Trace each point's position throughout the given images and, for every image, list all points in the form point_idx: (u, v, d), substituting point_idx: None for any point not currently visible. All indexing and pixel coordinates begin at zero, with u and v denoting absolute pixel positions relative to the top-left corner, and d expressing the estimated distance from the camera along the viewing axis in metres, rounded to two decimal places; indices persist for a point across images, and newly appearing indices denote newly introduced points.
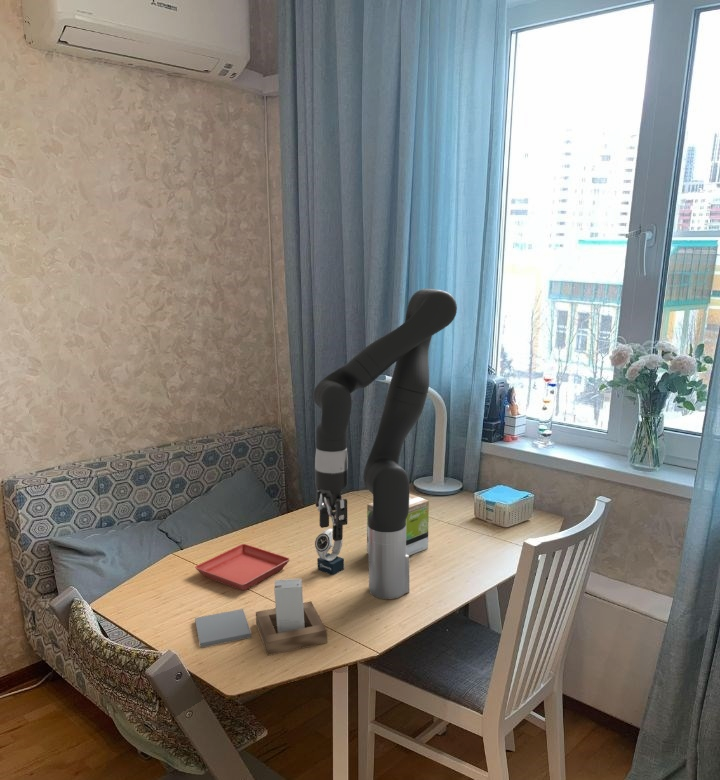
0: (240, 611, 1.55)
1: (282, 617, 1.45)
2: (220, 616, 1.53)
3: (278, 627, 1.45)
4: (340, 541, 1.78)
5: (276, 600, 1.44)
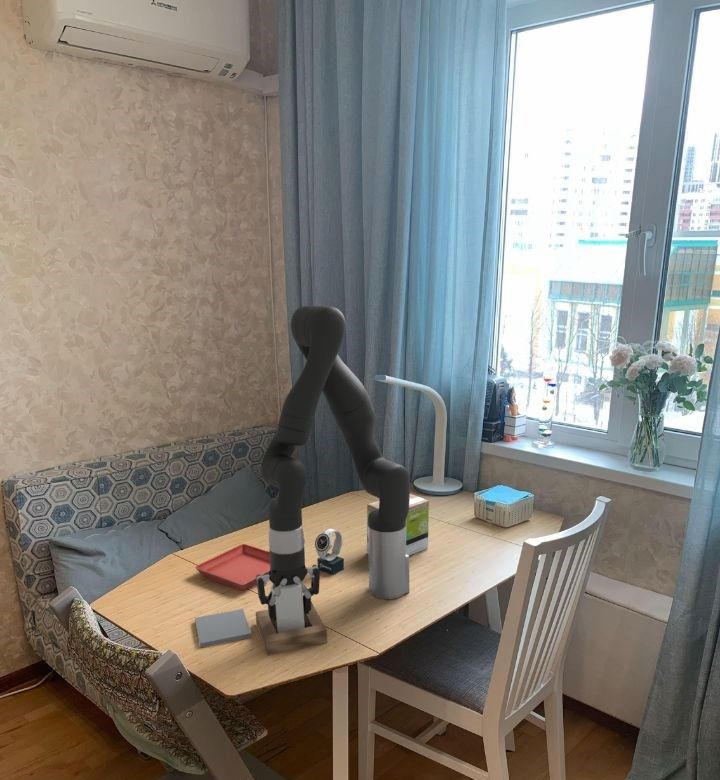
0: (240, 611, 1.55)
1: (282, 617, 1.45)
2: (220, 616, 1.53)
3: (278, 627, 1.45)
4: (340, 541, 1.78)
5: (276, 600, 1.44)
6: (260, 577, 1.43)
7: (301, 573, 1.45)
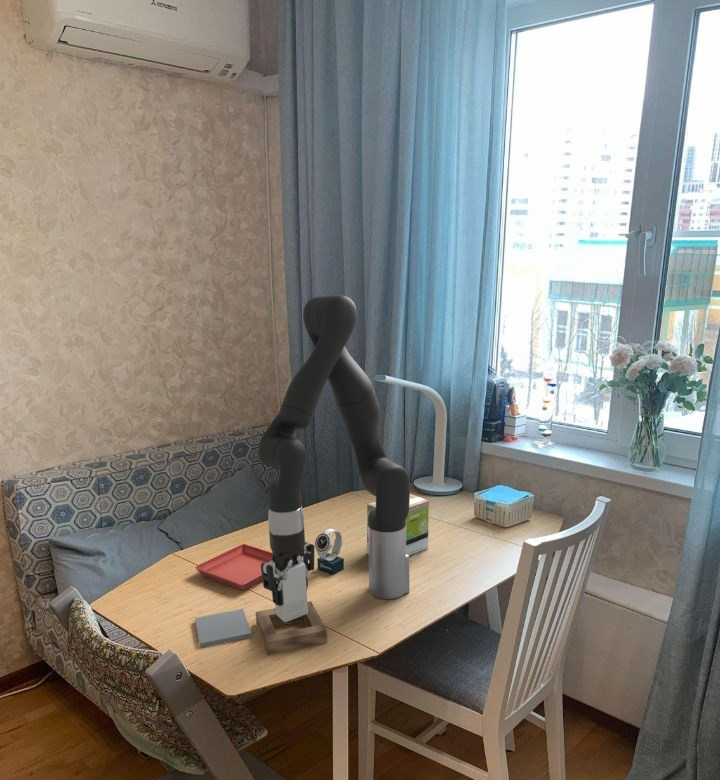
0: (240, 611, 1.55)
1: (289, 600, 1.44)
2: (220, 616, 1.53)
3: (285, 611, 1.44)
4: (340, 541, 1.78)
5: (283, 584, 1.42)
6: (268, 564, 1.39)
7: (300, 552, 1.45)
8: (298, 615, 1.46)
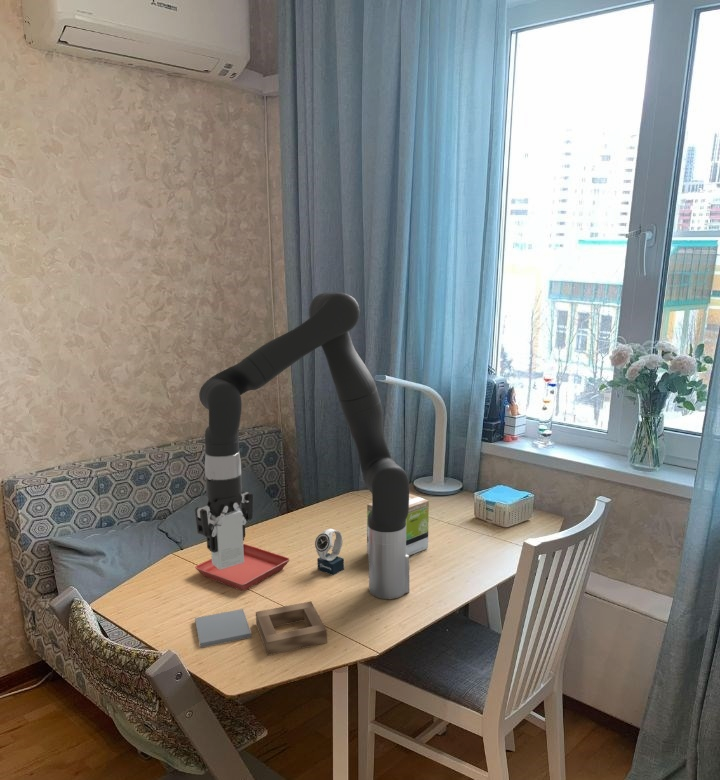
0: (240, 611, 1.55)
1: (224, 547, 1.43)
2: (220, 616, 1.53)
3: (220, 558, 1.43)
4: (340, 541, 1.78)
5: (218, 530, 1.41)
6: (202, 508, 1.38)
7: (238, 499, 1.45)
8: (233, 563, 1.45)
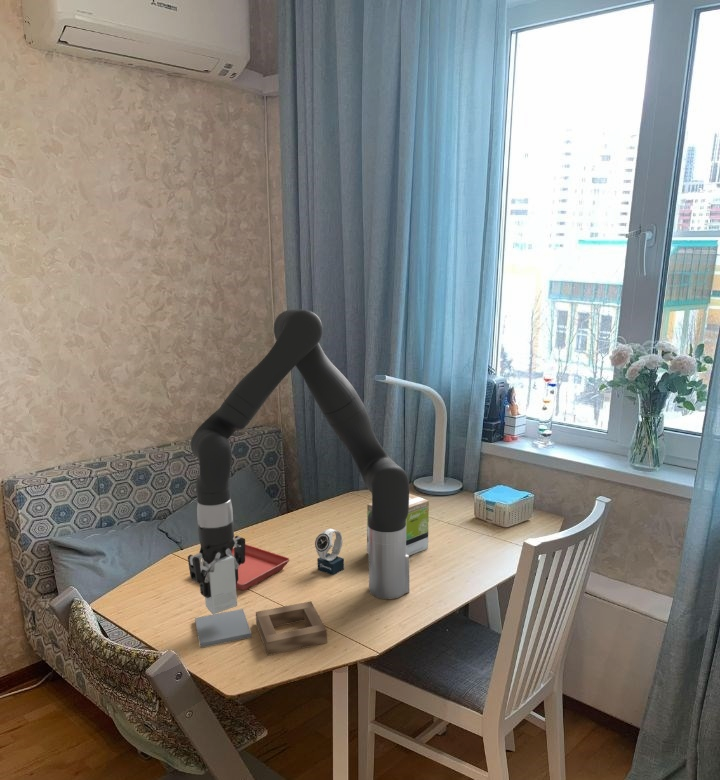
0: (240, 611, 1.55)
1: (217, 592, 1.45)
2: (220, 616, 1.53)
3: (213, 603, 1.45)
4: (340, 541, 1.78)
5: (211, 576, 1.44)
6: (194, 556, 1.41)
7: (230, 545, 1.47)
8: (226, 607, 1.48)
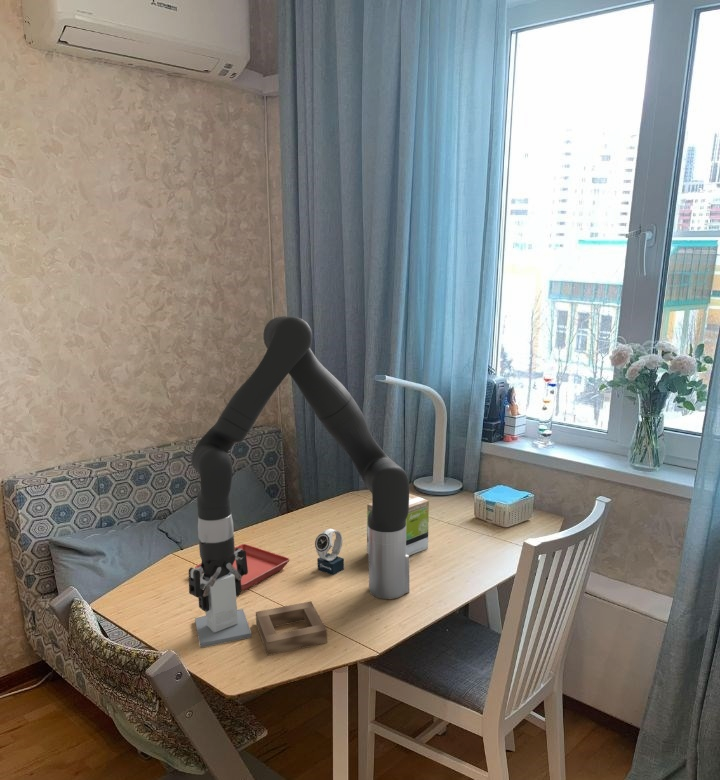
0: (240, 611, 1.55)
1: (218, 611, 1.46)
2: None
3: (214, 621, 1.46)
4: (340, 541, 1.78)
5: (212, 595, 1.45)
6: (195, 569, 1.42)
7: (231, 559, 1.48)
8: (228, 625, 1.48)
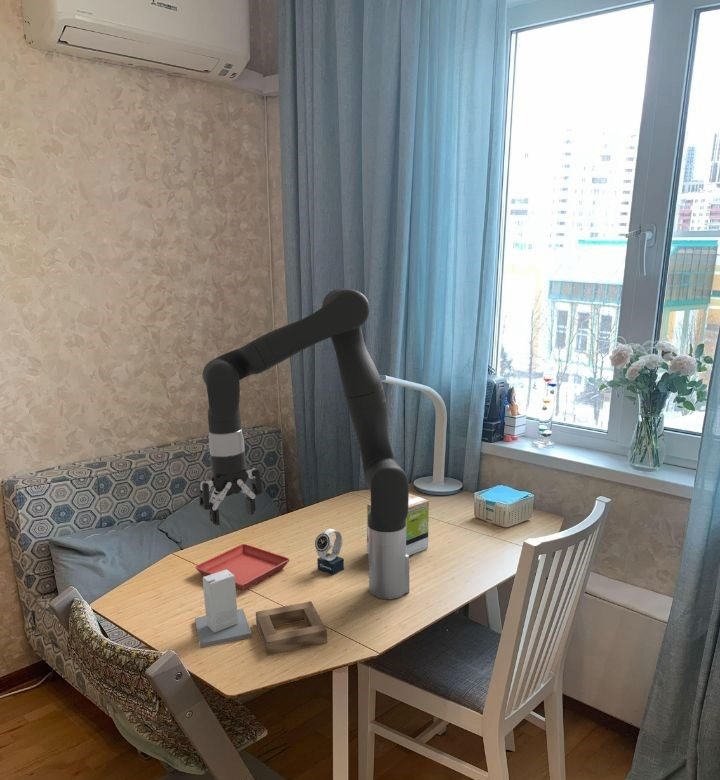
0: (240, 611, 1.55)
1: (218, 611, 1.46)
2: None
3: (214, 621, 1.46)
4: (340, 541, 1.78)
5: (212, 595, 1.45)
6: (205, 482, 1.44)
7: (243, 476, 1.49)
8: (228, 625, 1.48)
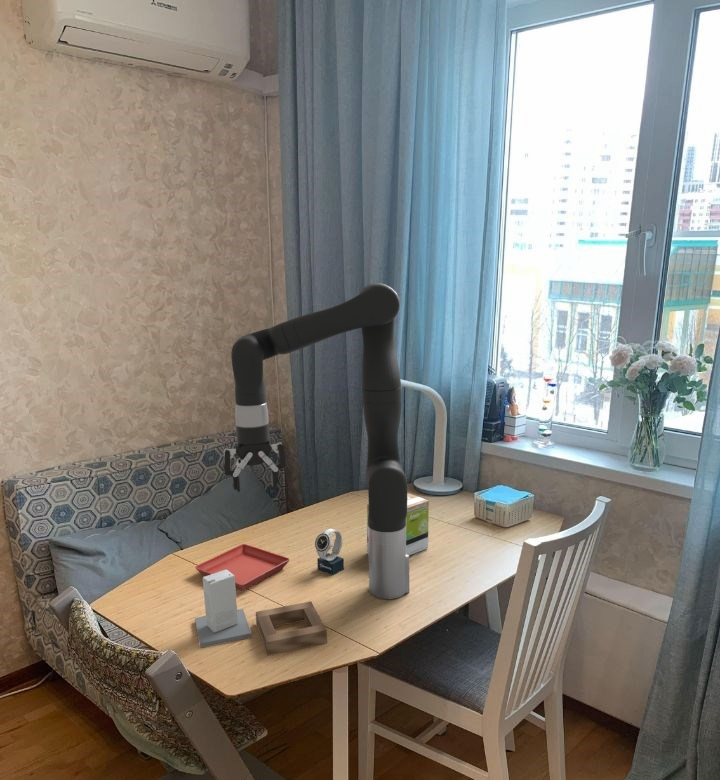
0: (240, 611, 1.55)
1: (218, 611, 1.46)
2: None
3: (214, 622, 1.46)
4: (340, 541, 1.78)
5: (212, 595, 1.45)
6: (227, 449, 1.54)
7: (266, 449, 1.56)
8: (228, 625, 1.48)
